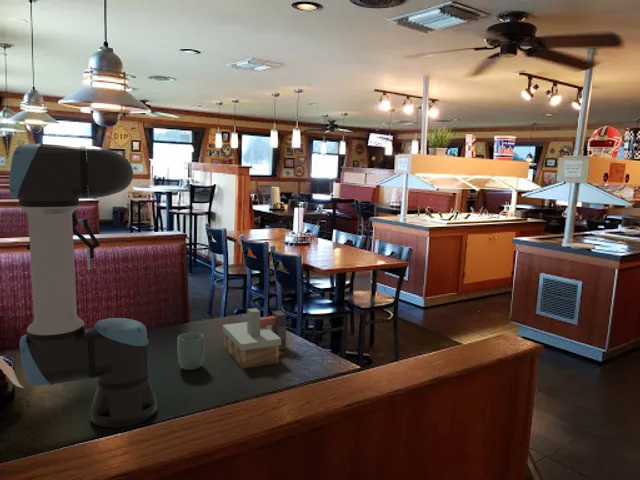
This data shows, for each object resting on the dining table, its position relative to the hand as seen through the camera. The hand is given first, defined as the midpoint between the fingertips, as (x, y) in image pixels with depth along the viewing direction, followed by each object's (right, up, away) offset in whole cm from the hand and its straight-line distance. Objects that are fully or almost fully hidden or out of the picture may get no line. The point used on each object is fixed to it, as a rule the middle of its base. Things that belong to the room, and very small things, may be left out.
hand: (65, 270), depth 155 cm
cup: (+41, -30, -5) cm, 51 cm away
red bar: (+63, -19, +12) cm, 67 cm away
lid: (+58, -24, +6) cm, 63 cm away
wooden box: (+61, -28, +8) cm, 68 cm away
